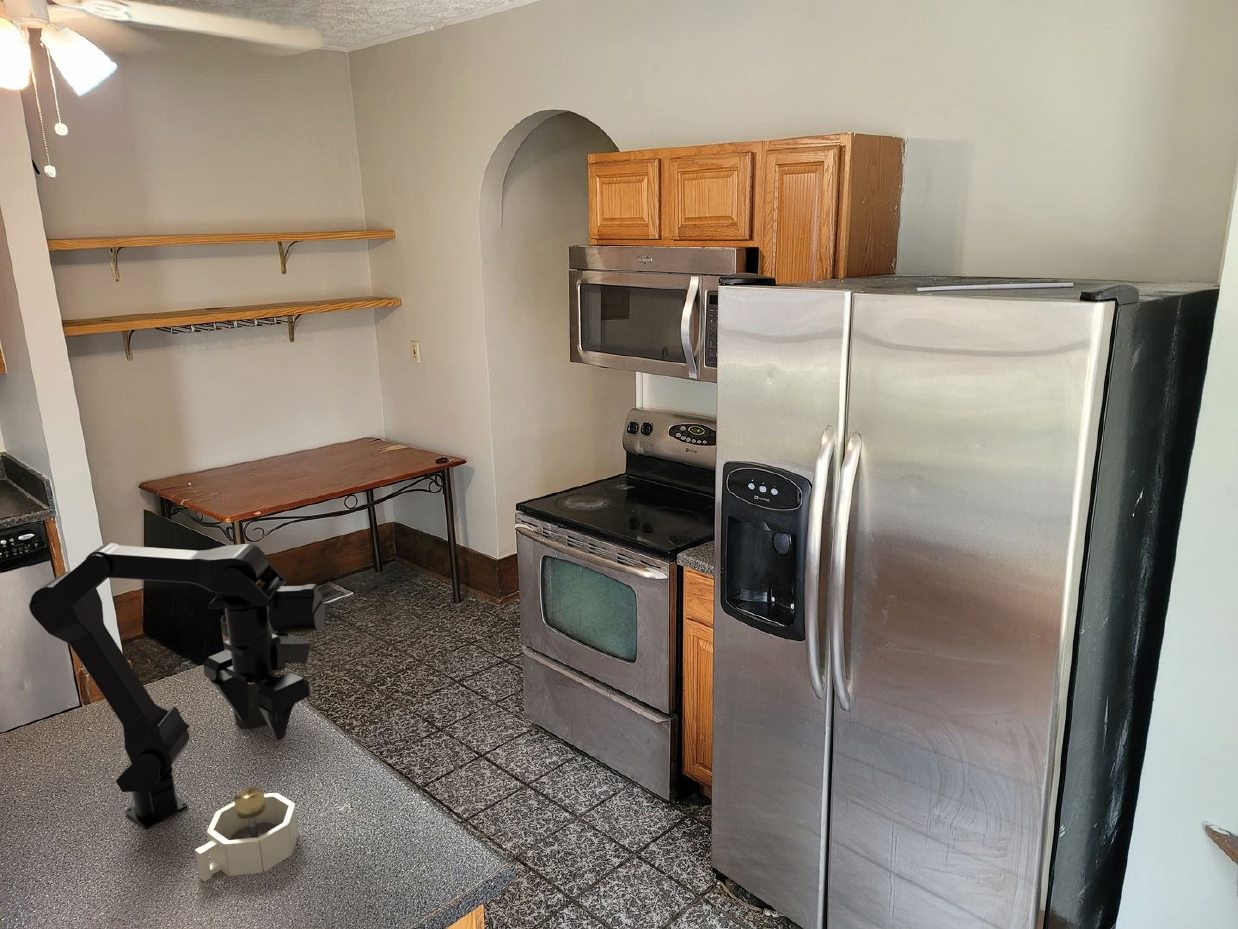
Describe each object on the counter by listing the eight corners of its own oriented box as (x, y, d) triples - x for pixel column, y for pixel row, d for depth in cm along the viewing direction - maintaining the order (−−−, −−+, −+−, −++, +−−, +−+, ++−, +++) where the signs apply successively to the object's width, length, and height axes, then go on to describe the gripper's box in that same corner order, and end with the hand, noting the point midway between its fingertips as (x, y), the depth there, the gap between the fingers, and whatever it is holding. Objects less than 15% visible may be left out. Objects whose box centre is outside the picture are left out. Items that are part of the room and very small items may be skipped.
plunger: (218, 847, 125) (211, 799, 123) (263, 821, 131) (257, 774, 129) (246, 867, 121) (239, 817, 119) (291, 839, 127) (285, 791, 125)
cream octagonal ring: (181, 864, 123) (176, 833, 122) (268, 814, 133) (264, 785, 132) (223, 897, 117) (218, 865, 115) (311, 842, 127) (308, 812, 126)
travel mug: (263, 731, 156) (250, 626, 151) (224, 727, 157) (210, 623, 152) (288, 709, 163) (276, 608, 158) (250, 705, 164) (237, 605, 159)
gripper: (337, 628, 129) (346, 725, 133) (263, 599, 140) (274, 689, 144) (267, 658, 121) (280, 759, 124) (195, 624, 131) (209, 719, 135)
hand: (262, 729), depth 132 cm, fingers open, 9 cm apart
